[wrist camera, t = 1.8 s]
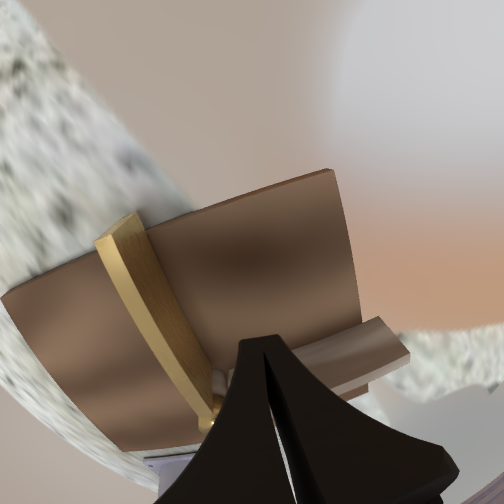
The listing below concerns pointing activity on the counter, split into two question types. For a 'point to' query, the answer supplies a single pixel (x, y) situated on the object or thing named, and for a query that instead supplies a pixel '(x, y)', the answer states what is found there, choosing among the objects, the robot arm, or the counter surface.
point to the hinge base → (211, 310)
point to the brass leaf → (159, 314)
